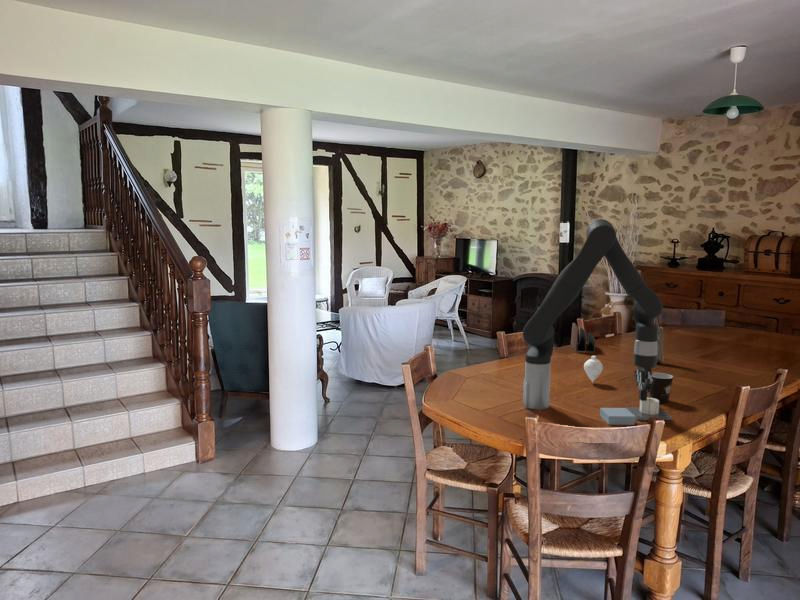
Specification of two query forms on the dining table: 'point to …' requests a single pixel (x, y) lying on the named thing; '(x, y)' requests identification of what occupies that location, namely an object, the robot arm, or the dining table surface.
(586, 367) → the spinning top
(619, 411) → the stand block
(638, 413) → the hub
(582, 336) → the letter holder
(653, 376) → the coffee mug
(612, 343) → the dining table surface
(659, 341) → the wizard figurine
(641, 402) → the collar ring
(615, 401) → the dining table surface
